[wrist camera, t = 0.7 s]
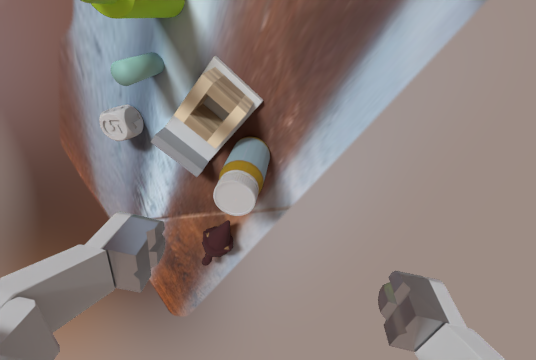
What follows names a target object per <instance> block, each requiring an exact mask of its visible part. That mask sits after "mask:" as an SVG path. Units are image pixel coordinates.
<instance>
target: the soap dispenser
mask: <svg viewBox="0 0 536 360" xmlns="http://www.w3.org/2000/svg"><path fill="white" fill-rule="evenodd" d="M81 1H83V2H86V3H91V4H92V6H93V7H94V8H95V9H96V10H98V11H99V12H100V13H102V14H103V15H105V16H107V17H110V18H170V17H174V16H176V15H178V14H179V13H180V12H181V11H182V9H183V6H184V3H185V0H81Z"/></svg>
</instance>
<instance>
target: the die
mask: <svg viewBox="0 0 536 360" xmlns="http://www.w3.org/2000/svg"><path fill="white" fill-rule="evenodd" d="M99 122H100V126H101V129H102V131H103V132H104V133H105V134H106V135H107V136H108V137H109V138H111V139H113V140H115V141H123V140H127V139H130V138H133V137H135V136H137V135H139V134H140V133H141V132H142V130H143V119H142V117H141V115H140V113H139V112H138V111H137V110H136V109H135V108H134V107H132V106H130V105H122V106H118V107H114V108H111V109H108V110H106V111H104V112H102V113H101V115H100V120H99Z"/></svg>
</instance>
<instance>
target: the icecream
mask: <svg viewBox="0 0 536 360" xmlns="http://www.w3.org/2000/svg"><path fill="white" fill-rule="evenodd" d="M202 244H203V247H204V250H205V252H206V254H205V257H204V258H203V261H202V264H203V265H205V266H206V265H208V264H210V262H211V261H212V257H221V256H223V255H224V254H226V253H227V252H229V251H231V249H232V248H233V237H232V236H231V235H230V221H229V220H228V221H226V222H225V223H223V224H222V225H220V226H219V227H213V228H209V229H206V231H204V233H203V242H202Z"/></svg>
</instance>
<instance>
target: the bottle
mask: <svg viewBox="0 0 536 360" xmlns="http://www.w3.org/2000/svg"><path fill="white" fill-rule="evenodd" d="M269 160H270V151H269V148H268V146H267V145H266V144H265V142H263V141H262V140H261V139H259V138H256V137H245V138H242V139H240V140H239V141H238V142H237V143H236V144H235V146H234V148H233V149H232V151H231V153H230V155H229V157H228V159H227V161H226V162H225V164H224V166H223V168H222V170H221V172H220V176H219V182H218V184H217V186H216V187H215V190H214V194H213V197H214V201H215V203H216V205H217V206H218V208H219V209H221V210H222V211H223V212H225V213H227V214H230V215H234V216H241V215H245V214H247V213H249V212H250V211H251V210H252V209H253V208H254V206H255V204H256V200H257V196H258V194H259V193H260V192H261V190H262V187H263V184H264V180H265V176H266V172H267V168H268V164H269Z"/></svg>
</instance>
